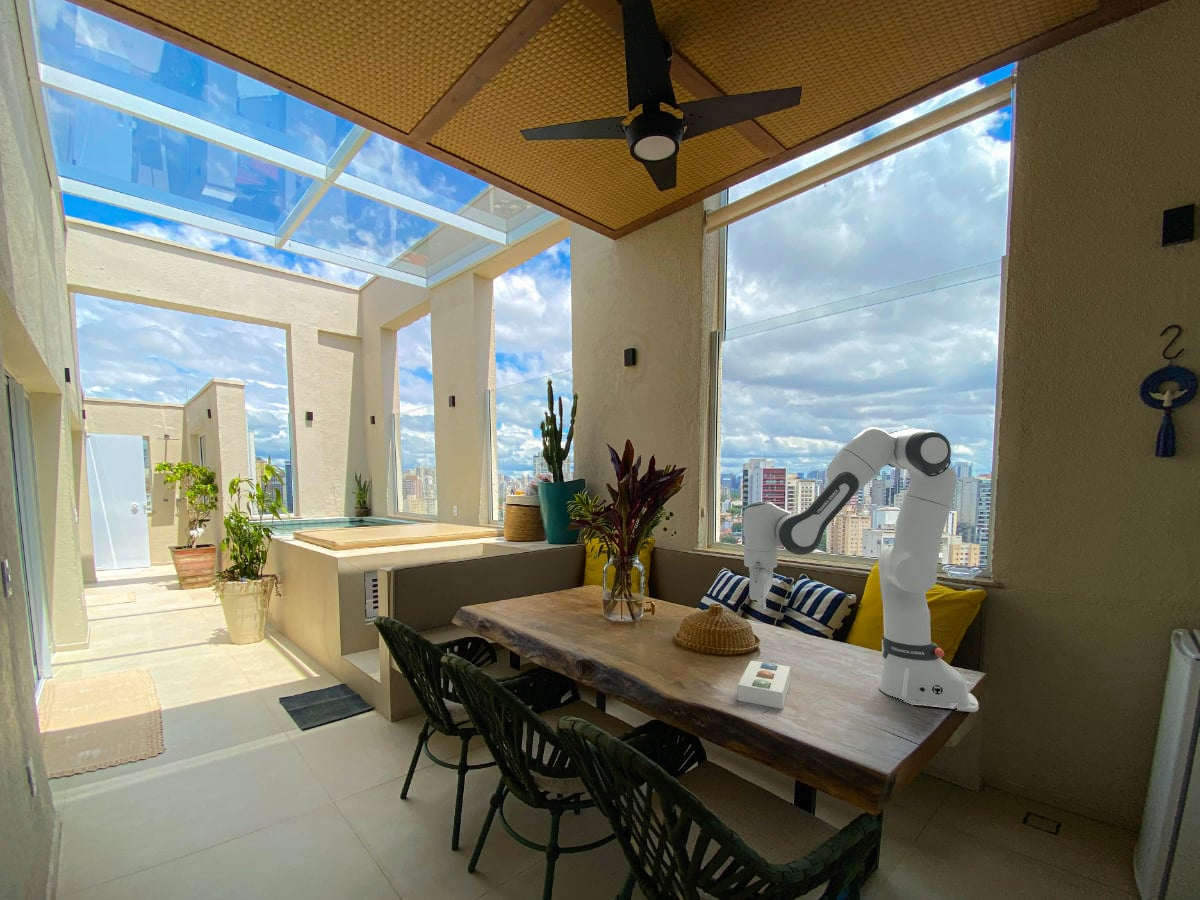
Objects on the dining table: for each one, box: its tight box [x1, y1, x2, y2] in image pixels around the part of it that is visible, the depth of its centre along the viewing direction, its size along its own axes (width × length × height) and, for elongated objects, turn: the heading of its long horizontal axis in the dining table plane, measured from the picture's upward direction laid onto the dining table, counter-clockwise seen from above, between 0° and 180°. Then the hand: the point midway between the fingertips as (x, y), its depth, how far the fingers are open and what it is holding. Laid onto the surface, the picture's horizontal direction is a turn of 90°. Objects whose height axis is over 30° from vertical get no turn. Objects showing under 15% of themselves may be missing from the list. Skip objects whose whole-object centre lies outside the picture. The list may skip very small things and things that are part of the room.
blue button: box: [762, 661, 776, 678], centre depth 145 cm, size 4×4×3 cm
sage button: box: [754, 679, 769, 689], centre depth 133 cm, size 4×4×3 cm
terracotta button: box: [758, 670, 772, 687], centre depth 139 cm, size 4×4×3 cm
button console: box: [737, 660, 792, 710], centre depth 139 cm, size 11×20×4 cm, turn 154°
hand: (762, 610), depth 142 cm, fingers closed
